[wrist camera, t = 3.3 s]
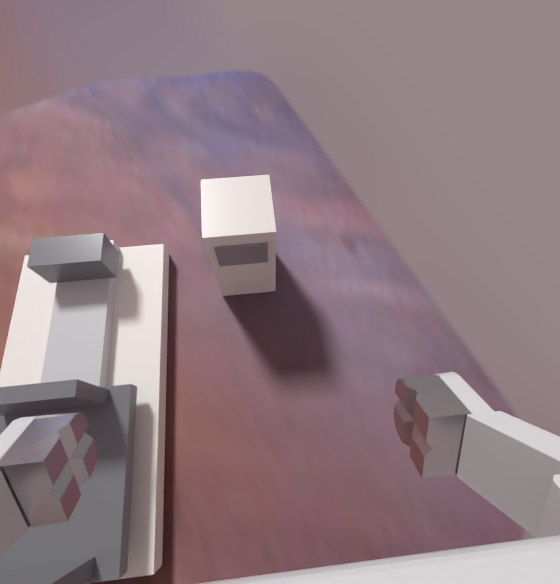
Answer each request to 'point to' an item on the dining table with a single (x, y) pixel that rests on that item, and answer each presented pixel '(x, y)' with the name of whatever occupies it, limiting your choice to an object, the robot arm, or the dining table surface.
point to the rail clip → (85, 399)
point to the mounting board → (115, 376)
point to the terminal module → (240, 233)
